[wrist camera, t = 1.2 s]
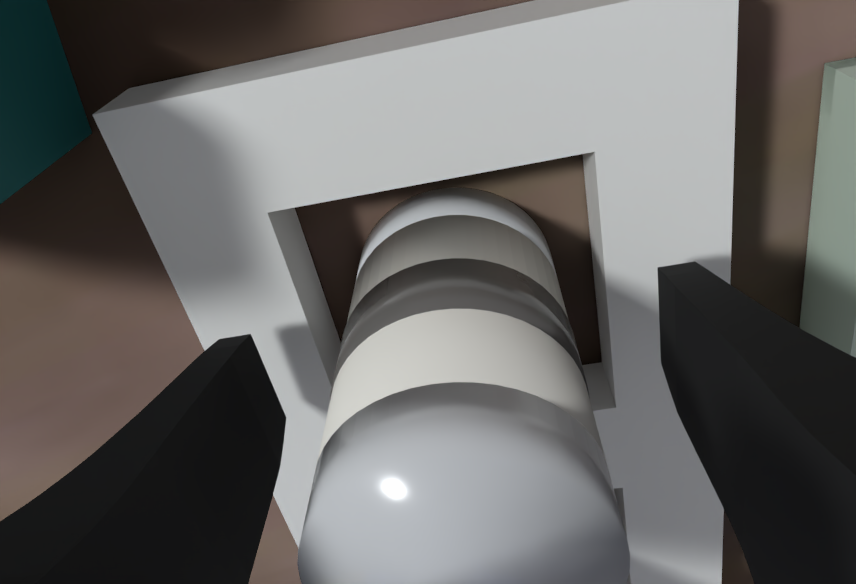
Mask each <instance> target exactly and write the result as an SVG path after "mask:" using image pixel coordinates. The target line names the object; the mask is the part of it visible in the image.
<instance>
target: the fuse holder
mask: <svg viewBox="0 0 856 584" xmlns="http://www.w3.org/2000/svg"><path fill="white" fill-rule="evenodd" d="M738 5H739V0H534V1H530V2H525V3H521V4H516V5H511V6H507V7H502V8H497V9H493V10H488V11H484V12H479V13H474V14H470V15H465V16H460V17H456V18H451V19H447V20H442V21H437V22H433V23H428V24H423V25H419V26H414V27H410V28H405V29H400V30H396V31H391V32H386V33H382V34H377V35H373V36H368V37H363V38H359V39H354V40H350V41H345V42H340V43H336V44H331V45H326V46H322V47H317V48H313V49H308V50H303V51H299V52H294V53H289V54H285V55H280V56H276V57H271V58H266V59H262V60H257V61H252V62H248V63H243V64H239V65H234V66H229V67H225V68H220V69H215V70H211V71H206V72H202V73H197V74H192V75H188V76H183V77H179V78H174V79H169V80H165V81H160V82H155V83H151V84H146V85H142V86H137V87H132V88H128V89H127V90H126V91H124V92H123V93H122V94H120V95H119V96H117V97H116V98H115V99H113V100H112V101H110V102H109V103H108V104H106V105H105V106H104V107H102V108H101V109H99V110H98V111H97V112H95V113H94V114H93V117H94V119H95V122H96V124H97V126H98V128H99V130H100V132H101V134H102V136H103V138H104V140H105V143H106V145H107V147H108V149H109V151H110V153H111V155H112V157H113V159H114V161H115V164H116V166H117V168H118V170H119V172H120V174H121V176H122V178H123V180H124V182H125V185H126V187H127V189H128V191H129V193H130V195H131V197H132V199H133V201H134V204H135V206H136V208H137V210H138V212H139V214H140V216H141V218H142V220H143V222H144V225H145V227H146V229H147V231H148V233H149V235H150V237H151V239H152V241H153V243H154V246H155V248H156V250H157V252H158V254H159V256H160V258H161V260H162V262H163V264H164V267H165V269H166V271H167V273H168V275H169V277H170V279H171V281H172V283H173V285H174V288H175V290H176V292H177V294H178V296H179V298H180V300H181V302H182V304H183V306H184V309H185V311H186V313H187V315H188V317H189V319H190V321H191V323H192V325H193V327H194V330H195V332H196V334H197V336H198V338H199V340H200V342H201V344H202V346H203V348H204V351H205V350H207V349H208V348H209V347H210V346H211V345H212V344H214V343H215V342H216V341H217V340H219V339H223V338H229V337H235V336H241V335H247V334H251V336H252V338H253V340H254V343H255V345H256V347H257V350H258V352H259V354H260V357H261V359H262V361H263V364H264V366H265V368H266V371H267V373H268V376H269V378H270V380H271V383H272V385H273V387H274V390H275V392H276V394H277V397H278V399H279V401H280V404H281V406H282V408H283V411H284V413H285V415H286V425H285V434H284V443H283V451H282V458H281V465H280V469H279V473H278V477H277V481H276V485H275V488H274V492H273V495H274V498H275V500H276V502H277V504H278V506H279V508H280V510H281V512H282V514H283V516H284V519H285V521H286V523H287V525H288V527H289V529H290V531H291V533H292V535H293V537H294V540H295V542H296V544H297V546H298V548H299V544H300V540H301V535H302V530H303V526H304V521H305V516H306V512H307V507H308V502H309V497H310V493H311V488H312V483H313V479H314V474H315V469H316V465H317V460H318V455H319V451H320V446H321V441H322V437H323V432H324V427H325V423H326V418H327V413H328V408H329V404H330V393H331V388H332V384H333V379H334V374H335V370H336V365H337V360H338V356H339V351H340V347H341V342H340V339H339V336H338V333H337V330H336V327H335V324H334V321H333V319H332V316H331V313H330V310H329V307H328V304H327V301H326V298H325V295H324V292H323V289H322V286H321V283H320V280H319V278H318V275H317V272H316V269H315V266H314V263H313V260H312V257H311V254H310V251H309V248H308V245H307V242H306V240H305V237H304V234H303V231H302V228H301V225H300V222H299V219H298V216H297V213H296V210H295V207H301V206H306V205H311V204H317V203H322V202H328V201H333V200H338V199H344V198H349V197H354V196H360V195H365V194H371V193H376V192H381V191H387V190H392V189H397V188H403V187H408V186H413V185H419V184H424V183H430V182H435V181H440V180H446V179H451V178H456V177H462V176H467V175H472V174H478V173H483V172H489V171H494V170H499V169H505V168H510V167H515V166H521V165H526V164H532V163H537V162H542V161H548V160H553V159H558V158H564V157H569V156H574V155H580V154H582V155H583V166H584V177H585V187H586V198H587V209H588V219H589V230H590V241H591V251H592V262H593V273H594V283H595V294H596V305H597V315H598V326H599V337H600V347H601V358H602V362H600V363H594V364H587V365H582V367H583V371H584V375H585V378H586V382H587V387H588V392H589V397H590V402H591V406H592V410H593V414H594V417H595V421H596V425H597V429H598V432H599V436H600V440H601V443H602V447H603V451H604V455H605V458H606V462H607V466H608V470H609V473H610V477H611V481H612V485H613V488H614V492H615V496H616V500H617V503H618V507H619V511H620V515H621V518H622V522H623V526H624V530H625V533H626V537H627V541H628V546H629V551H630V571H629V575H628V579H627V583H626V584H722V551H723V517H724V508H723V506H722V504H721V502H720V500H719V498H718V496H717V494H716V492H715V490H714V487H713V485H712V483H711V481H710V479H709V477H708V475H707V473H706V471H705V469H704V467H703V465H702V463H701V461H700V459H699V457H698V455H697V453H696V451H695V449H694V447H693V444H692V442H691V440H690V438H689V436H688V434H687V432H686V430H685V428H684V426H683V424H682V421H681V419H680V417H679V415H678V413H677V410H676V407H675V404H674V401H673V399H672V396H671V393H670V390H669V387H668V383H667V380H666V377H665V374H664V371H663V368H662V365H661V352H660V324H659V296H658V267H664V266H670V265H676V264H682V263H688V262H694V261H695V262H697V263H698V264H700V265H702V266H703V267H705V268H706V269H708V270H709V271H711V272H712V273H714V274H715V275H717V276H718V277H720V278H721V279H723V280H724V281H726V282H727V283H728V284H730V278H731V244H732V210H733V176H734V142H735V108H736V73H737V39H738Z"/></svg>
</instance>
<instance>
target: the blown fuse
mask: <svg viewBox="0 0 856 584" xmlns="http://www.w3.org/2000/svg"><path fill="white" fill-rule="evenodd" d="M298 570H299V575H300V579H301V582H302V584H626V583H627V579H628V575H629V571H630V551H629V546H628V541H627V537H626V533H625V530H624V526H623V522H622V518H621V515H620V511H619V507H618V503H617V500H616V496H615V492H614V488H613V485H612V481H611V477H610V473H609V470H608V466H607V462H606V458H605V455H604V451H603V447H602V443H601V440H600V436H599V432H598V429H597V425H596V421H595V417H594V414H593V410H592V406H591V402H590V397H589V392H588V387H587V382H586V378H585V375H584V371H583V367H582V364H581V360H580V356H579V352H578V349H577V345H576V341H575V338H574V334H573V330H572V328H571V325H570V322H569V320H568V316H567V313H566V309H565V305H564V301H563V298H562V294H561V290H560V286H559V283H558V279H557V275H556V271H555V268H554V264H553V260H552V256H551V253H550V249H549V246H548V244H547V241H546V239H545V237H544V235H543V233H542V232H541V230H540V228H539V227H538V226H537V224H536V223H535V222H534V220H533V219H532V218H531V217H530V216H529V215H528V214H527V213H526V212H525V211H523V210H522V209H521V208H519V207H518V206H517V205H515V204H514V203H512V202H510V201H508V200H506V199H505V198H503V197H500V196H498V195H495V194H493V193H490V192H486V191H482V190H478V189H471V188H443V189H435V190H431V191H427V192H423V193H421V194H418V195H416V196H413V197H411V198H409V199H407V200H405V201H403V202H401V203H399V204H398V205H397V206H395V207H394V208H392V209H391V210H390V211H389V212H387V213H386V214H385V215H384V216H383V217H382V218H381V219H380V220H379V222H378V223H377V224H376V225H375V227H374V228H373V229H372V231H371V233H370V234H369V236H368V238H367V240H366V242H365V245H364V247H363V250H362V254H361V259H360V263H359V268H358V273H357V277H356V282H355V287H354V291H353V296H352V301H351V305H350V310H349V315H348V319H347V324H346V327H345V329H344V333H343V338H342V342H341V347H340V351H339V356H338V360H337V365H336V370H335V374H334V379H333V384H332V388H331V393H330V404H329V408H328V413H327V418H326V423H325V427H324V432H323V437H322V441H321V446H320V451H319V455H318V460H317V465H316V469H315V474H314V479H313V483H312V488H311V493H310V497H309V502H308V507H307V512H306V516H305V521H304V526H303V530H302V535H301V540H300V544H299V549H298Z"/></svg>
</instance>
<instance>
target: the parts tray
mask: <svg viewBox="0 0 856 584" xmlns="http://www.w3.org/2000/svg"><path fill="white" fill-rule="evenodd" d="M799 328H800V329H802V330H804V331H806V332H808V333H809V334H811V335H813V336H815V337H817V338H819V339H821V340H822V341H824V342H826V343H828V344H830V345H832V346H834V347H835V348H837V349H839V350H841V351H843V352H845V353H847V354H849V355H851V356H853V357H855V358H856V57H854V58H849V59H844V60H839V61H834V62H829V63H825V65H824V76H823V86H822V96H821V107H820V117H819V128H818V138H817V149H816V159H815V170H814V180H813V190H812V201H811V211H810V222H809V232H808V243H807V253H806V264H805V274H804V285H803V295H802V305H801V316H800V326H799Z"/></svg>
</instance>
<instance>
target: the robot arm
mask: <svg viewBox="0 0 856 584" xmlns="http://www.w3.org/2000/svg"><path fill="white" fill-rule="evenodd" d="M658 296H659V324H660V352H661V365H662V368H663V371H664V374H665V377H666V380H667V383H668V387H669V390H670V393H671V396H672V399H673V401H674V404H675V407H676V410H677V413H678V415H679V417H680V419H681V421H682V424H683V426H684V428H685V430H686V432H687V434H688V436H689V438H690V440H691V442H692V444H693V447H694V449H695V451H696V453H697V455H698V457H699V459H700V461H701V463H702V465H703V467H704V469H705V471H706V473H707V475H708V477H709V479H710V481H711V483H712V485H713V487H714V490H715V492H716V494H717V496H718V498H719V500H720V502H721V504H722V506H723V508H724V510H725V512H726V514H727V516H728V518H729V520H730V522H731V524H732V527H733V529H734V531H735V534H736V536H737V538H738V541H739V543H740V545H741V548H742V550H743V553H744V556H745V558H746V561H747V564H748V566H749V569H750V572H751V575H752V577H753V580H754V583H755V584H856V358H855V357H853V356H851V355H849V354H847V353H845V352H843V351H841V350H839V349H837V348H835V347H834V346H832V345H830V344H828V343H826V342H824V341H822V340H821V339H819V338H817V337H815V336H813V335H811V334H809V333H808V332H806V331H804V330H802V329H800V328H799V327H797V326H795V325H794V324H792V323H790V322H788V321H787V320H785V319H783V318H782V317H780V316H778V315H777V314H775V313H773V312H772V311H770V310H769V309H767V308H765V307H764V306H762V305H761V304H759V303H757V302H756V301H754V300H753V299H751V298H750V297H748V296H747V295H745V294H744V293H742V292H741V291H739V290H738V289H736V288H735V287H733V286H731V285H730V284H728V283H727V282H726V281H724V280H723V279H721V278H720V277H718V276H717V275H715V274H714V273H712V272H711V271H709V270H708V269H706V268H705V267H703V266H702V265H700V264H698V263H697V262H695V261H694V262H688V263H682V264H676V265H670V266H664V267H658ZM285 425H286V415H285V413H284V411H283V408H282V406H281V404H280V401H279V399H278V397H277V394H276V392H275V390H274V387H273V385H272V383H271V380H270V378H269V376H268V373H267V371H266V368H265V366H264V364H263V361H262V359H261V357H260V354H259V352H258V350H257V347H256V345H255V343H254V340H253V338H252V336H251V334H247V335H241V336H235V337H229V338H223V339H219V340H217V341H216V342H215V343H214V344H212V345H211V346H210V347H209V348H208V349H207V350H205V351H204V352H203V353H202V354H201V355H200V356H199V357H198V358H197V359H196V360H194V361H193V362H192V363H191V364H190V365H189V366H188V367H187V368H186V369H185V370H184V371H183V372H182V373H181V374H180V375H179V376H178V377H177V378H176V379H175V380H173V381H172V382H171V383H170V384H169V385H168V386H167V387H166V388H165V389H164V390H163V391H162V392H161V393H160V394H159V395H158V396H157V397H156V398H155V399H153V400H152V401H151V402H150V403H149V404H148V405H147V406H146V407H145V408H144V409H143V410H142V411H141V412H140V413H139V414H138V415H136V416H135V417H134V418H133V419H132V420H131V421H130V422H128V423H127V424H126V425H125V426H124V427H123V428H122V429H121V430H119V431H118V432H117V433H116V434H115V435H114V436H113V437H111V438H110V439H109V440H108V441H107V442H106V443H105V444H104V445H102V446H101V447H100V448H99V449H98V450H97V451H96V452H94V453H93V454H92V455H91V456H90V457H88V458H87V459H86V460H85V461H83V462H82V463H81V464H80V465H78V466H77V467H76V468H75V469H73V470H72V471H71V472H70V473H68V474H67V475H66V476H64V477H63V478H62V479H60V480H59V481H58V482H56V483H55V484H54V485H52V486H51V487H50V488H48V489H47V490H46V491H44V492H43V493H42V494H40V495H39V496H37V497H36V498H35V499H33V500H32V501H30V502H29V503H28V504H26V505H25V506H23V507H21V508H20V509H18V510H17V511H15V512H14V513H12V514H11V515H9V516H8V517H6V518H5V519H3V520H2V521H0V584H248V583H249V578H250V575H251V571H252V568H253V564H254V560H255V557H256V553H257V550H258V546H259V543H260V539H261V535H262V532H263V528H264V525H265V521H266V518H267V514H268V511H269V507H270V503H271V500H272V496H273V492H274V488H275V485H276V481H277V477H278V473H279V469H280V465H281V458H282V451H283V443H284V434H285Z"/></svg>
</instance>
